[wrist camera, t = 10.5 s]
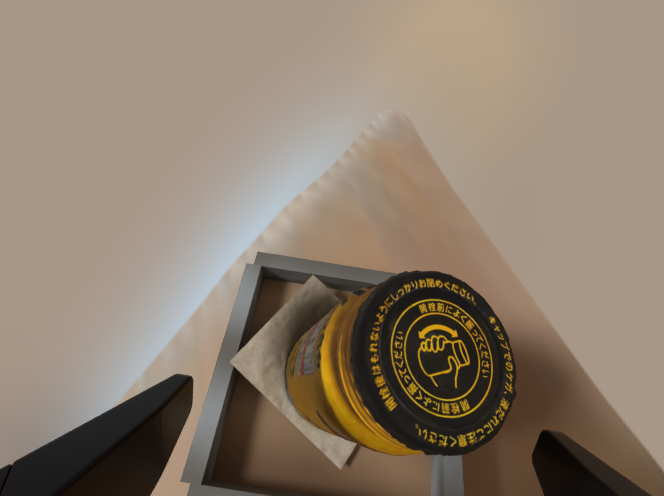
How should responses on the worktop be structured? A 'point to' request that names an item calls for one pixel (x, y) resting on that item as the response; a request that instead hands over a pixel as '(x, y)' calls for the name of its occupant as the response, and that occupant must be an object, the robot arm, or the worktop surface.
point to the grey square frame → (275, 428)
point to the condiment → (386, 366)
